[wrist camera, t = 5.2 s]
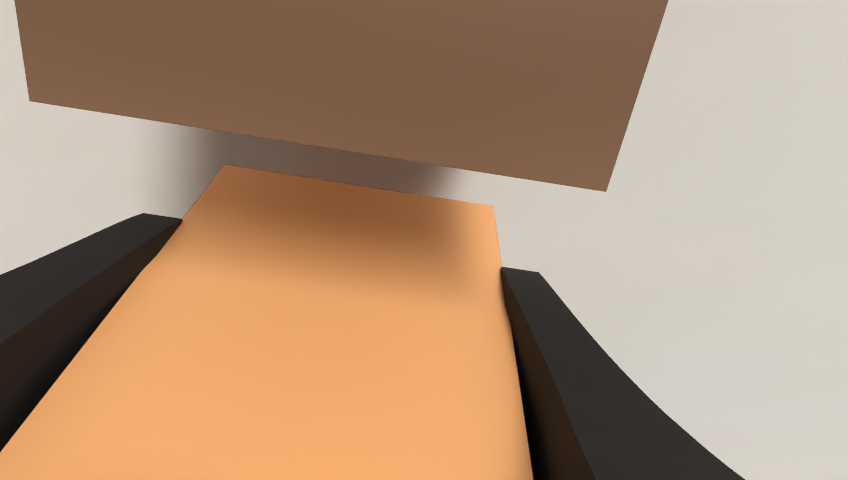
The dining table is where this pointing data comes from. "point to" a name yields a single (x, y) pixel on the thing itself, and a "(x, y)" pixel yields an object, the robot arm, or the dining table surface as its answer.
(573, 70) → the tile
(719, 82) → the dining table surface
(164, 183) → the dining table surface
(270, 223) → the orange tile
